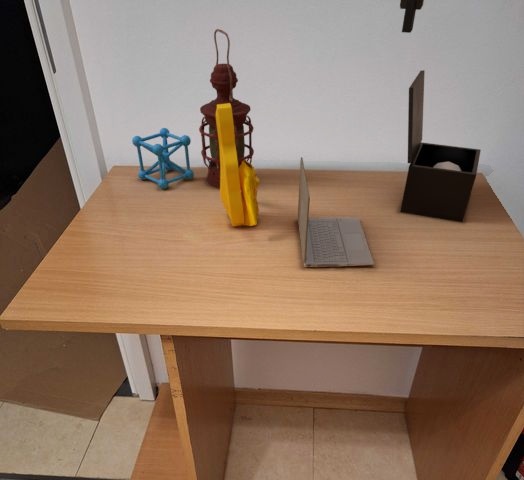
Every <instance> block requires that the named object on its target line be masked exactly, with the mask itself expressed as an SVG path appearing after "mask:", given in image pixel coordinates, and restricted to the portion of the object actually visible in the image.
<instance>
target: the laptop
mask: <svg viewBox="0 0 524 480" xmlns="http://www.w3.org/2000/svg"><path fill="white" fill-rule="evenodd" d="M299 163H300V164H299V182H298V186H299V187H298V203H297V204H298V205H297V224H298V230H299V239H300V245H301V254H302V262H303V267H305V268H321V267H325V268H327V267H353V266H354V267H355V266H374V265H375V262H374V259H373V256H372V254H371V250H370V247H369V245H368V242H367V239H366V235H365V233H364V230H363V227H362V223H361V221H360V218H359V217H358V216H355V217H354V216H351V217H350V216H349V217H346V216H345V217H344V216H343V217H342V216H341V217H336V216H333V217H310V199H311V197H310V192H309V191H310V190H309V186H308V180H307V175H306V170H305V163H304V159H303V157H302V156H301V157H300V161H299Z"/></svg>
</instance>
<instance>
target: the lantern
mask: <svg viewBox="0 0 524 480" xmlns="http://www.w3.org/2000/svg"><path fill="white" fill-rule="evenodd" d="M217 32H218V33H221V34H222V35H225V37H226V40H227V51H226V52H227V53H226V63H219V49H218V44H217V36H216V35H217ZM213 39H214V44H215V45H214V46H215V51H216V52H215V53H216V63H215V65H214V67H213V71H212V72H211V73H210V79H209V83H210V84H211V86H212V89H214V90H215V91H216V98H215V99H212V100H211V101H210V102H208V103H205V104H203V105H202V106H200V108H199V111H200V114H202V116H203V117H202V119H201V123H200V126H199V128H198V131H199V133H200V136H201V147H202V149H201V151H200V155H201V156H202V161H203V164H204V165H205V166H206V168H207V177H206V182H207V184H208V185H210V186H212V188H217V189H220V149H219V139H218V131H217V123H216V109H217V105H218V104H227V103H230V104H231V107H232V115H233V123H234V135H235V145H236V153H237V160H238V168H239V167H240V165H241V164H242V161H244V160H246V161H248V162H249V163H250V164H252V162H253V156H254V154H255V150H254V148H253V147H252V143H253V142H252V141H253V140H252V138H253V137H252V134H253V131H254V129H255V128H254V126H253V124H252V119H251V117H250V116H249V115H248V114H249V113H250V112H251V109H252V108H251V106H250V105H249V104H247V103H245V102H242V101H240V100H239V99H235V98H234V91H233V90H234V89H235V88H236V87H237V83H238V82H239V78H237V73H236V71H234V67H233V66H232V64H230V59H229V58H230V57H229V56H230V46H231V43H230V37H229V35H228V33H227V32H226V31H224V30H222V29H220V28H216V29H215V30H214V33H213ZM244 125H246V126H248V130H247V131H246V132H245V126H244ZM207 126H208V132H205V127H207ZM245 136H248V144H246V143H245ZM206 137H208V139H209V141H208V142H209V145H206ZM246 148H247V149H248V154H247V155H245V152H246V151H245V149H246ZM207 150H209V152H210V156H208V155H207ZM206 160H207V161H206ZM207 162H208V163H207Z"/></svg>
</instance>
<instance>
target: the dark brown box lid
mask: <svg viewBox="0 0 524 480" xmlns="http://www.w3.org/2000/svg"><path fill="white" fill-rule="evenodd" d="M425 73H426V72H425V70H424V69H423V70H422V69H421V70H420V71H419V72H418V74H417V75H416V77H415V79H414V80H413V81H412V83H411V84H410V86H409V87H408V110H407V111H408V113H407V114H408V118H407V119H408V120H407V164H410V163H412V161H413V159H414V157H415V155H416V152H417V150H418V148H419V146H420V143H421V142H422V141H423V130H424V129H423V127H424V100H425V99H424V97H425Z"/></svg>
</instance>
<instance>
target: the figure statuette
mask: <svg viewBox="0 0 524 480" xmlns="http://www.w3.org/2000/svg"><path fill="white" fill-rule="evenodd" d="M216 123H217V131H218V139H219V149H220V188H219V197H220V200H221V203H222V206H223V207H224V209H225V211H226V214H227V216H228V218H229V220H230V223H231V227H239V226H240V227H241V226H247V227H255V226H257V225H258V219H259V212H260V209H259V203H258V199H257V198H258V197H257V196H258V187H259V184H260V182H261V180H260V179H259V177H258V176H257V172H256V170H255V166H254V165H253V164H252V163H251V164H250V161H249V160H248V161H247V159H246V160H244V161H242V164H241V165H240V167H239V168H238V160H237V153H236V145H235V135H234V123H233V115H232V107H231V104H230V103H227V104H218V105H217V109H216Z"/></svg>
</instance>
